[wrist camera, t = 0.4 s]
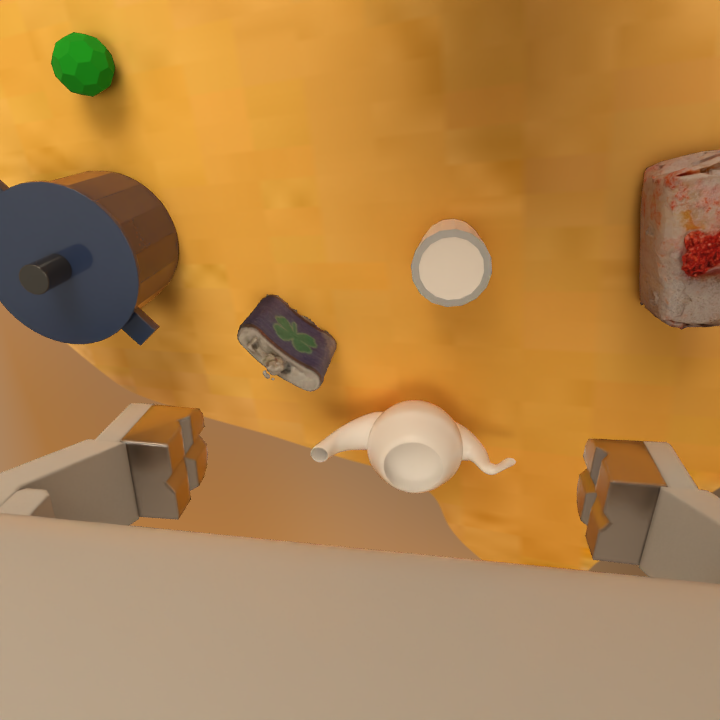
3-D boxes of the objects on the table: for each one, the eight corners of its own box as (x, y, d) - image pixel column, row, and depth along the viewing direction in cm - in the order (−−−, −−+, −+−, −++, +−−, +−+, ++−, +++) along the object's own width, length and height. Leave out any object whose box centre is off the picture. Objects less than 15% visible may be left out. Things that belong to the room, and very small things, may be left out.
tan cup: (411, 279, 59) (407, 303, 53) (418, 209, 56) (414, 226, 50) (482, 285, 58) (486, 311, 52) (492, 214, 55) (498, 232, 49)
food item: (631, 156, 52) (669, 172, 43) (732, 140, 50) (793, 154, 41) (629, 304, 57) (663, 345, 48) (720, 293, 56) (772, 334, 47)
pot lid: (41, 141, 49) (3, 147, 45) (176, 271, 52) (153, 287, 48) (-42, 257, 54) (-82, 272, 50) (85, 368, 58) (58, 390, 54)
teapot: (502, 465, 67) (510, 520, 58) (325, 442, 69) (308, 493, 60) (517, 390, 63) (528, 438, 54) (329, 368, 64) (311, 411, 56)
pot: (76, 118, 57) (11, 125, 48) (225, 264, 61) (189, 294, 52) (5, 215, 62) (-65, 237, 53) (147, 344, 66) (103, 383, 58)
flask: (341, 341, 63) (322, 389, 53) (325, 360, 64) (304, 411, 54) (270, 288, 61) (236, 327, 52) (255, 308, 63) (220, 351, 53)
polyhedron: (61, 65, 55) (29, 64, 50) (90, 21, 53) (59, 16, 49) (105, 107, 56) (76, 110, 52) (134, 66, 54) (108, 65, 50)
